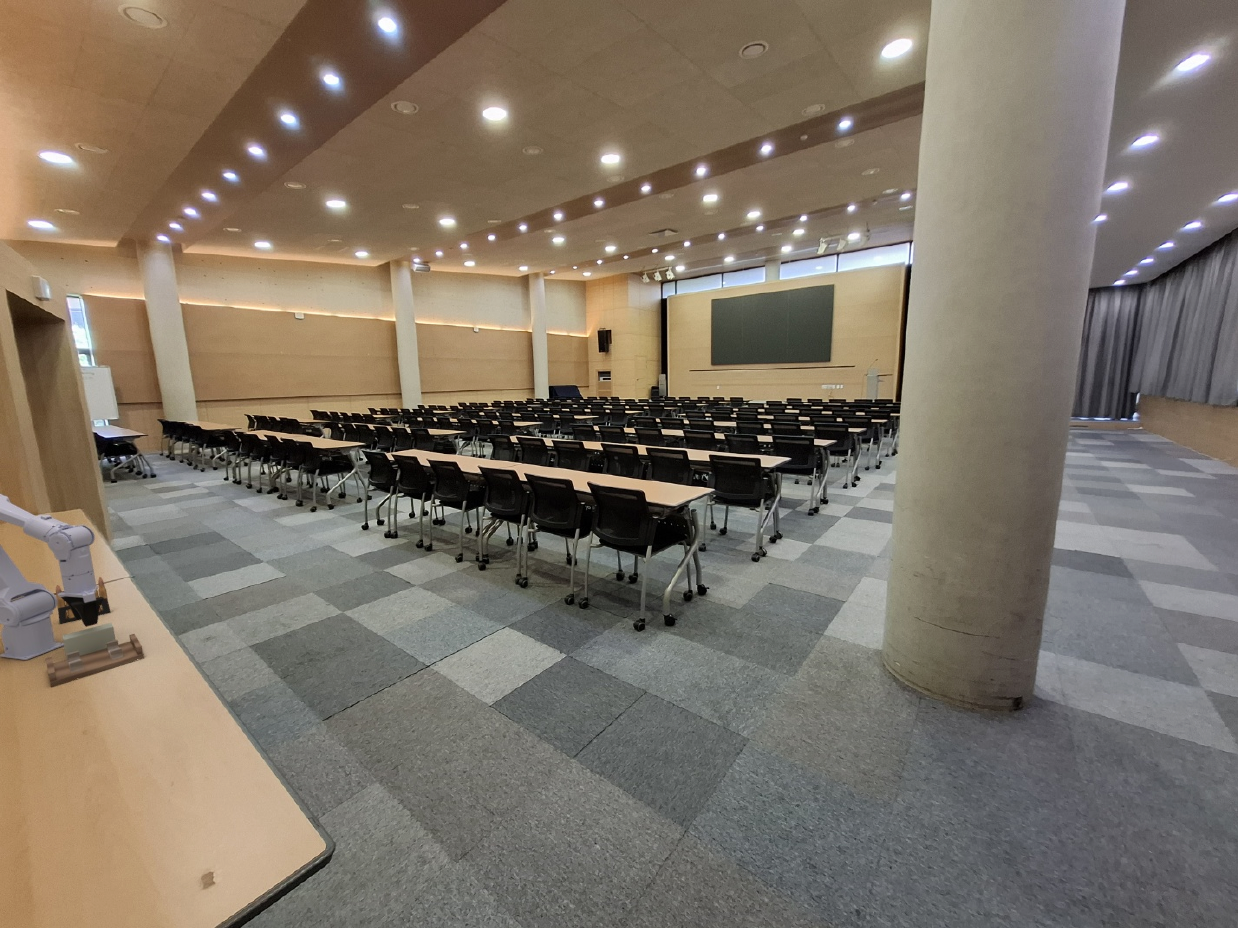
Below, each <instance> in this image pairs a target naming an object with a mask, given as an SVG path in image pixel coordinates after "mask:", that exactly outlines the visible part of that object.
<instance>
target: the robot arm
mask: <svg viewBox="0 0 1238 928" xmlns="http://www.w3.org/2000/svg"><path fill="white" fill-rule="evenodd" d="M0 521H2V522H6V523H8V524H11V525H14V526H17V527H20V528H23V529H22V530H23V533H24V534H25V535H26V536H29V537H32V538H34V539H35V540H36V539H37V540H39V541H41V542H44V543H46V544H47V546H48V549H49V550H51V551H52V552H53V555H54V558H55V559H56V560H57V561H58V564H59V565H58V566H59V571H60V575H61V580H62V586H63V591H62V592H61V593H58V596H59V597H61V598H62V599H63V600H64V601H65V604H66V603H67V604H68V605H69V607H70V609H71V611H72V613H73V615H74V617H75V618H76V620H78V621H80V619H82V620H81V621H82V623H83V625H84V626H85V628H87V627H90V626H94V625H98V621H99V616H98V615H99V609H100V606H101V604H102V602H103V600H104V597H98V598H96V597H95V592H96V590H97V591H98V590H99V585H98V584H97V581H96V576H95V570H94V564H93V559H92V554H91V553H92V552H91V548H90V546H91V545H92V544H94V542H95V539H96V537H95V532H94V531H93V529H92V528H91V527H89V526H87V525H85V524H80V525H71V524H69V523H67V522H64V521H61V520H59V519H56V518H54V517H53V516H52V515H50V514H48V513H47V514H39V515H35V514H33V513H31V512H29V511H27V510H25V509H23V508H21V507H19V506H18V505H15V504H13V503H12V502H11V501H10V497H8V496H7V495H3V494H2V493H0ZM56 608H57V597H56V594H54V592H52V591H50V590H49V589H47V587H46V586H45V585H44V584H42V583H38V582H31V581H28V579H26V577H25V576H24V575H23V573H22V572H21V570H20V569H19V568H18V566H17V565H16V563H14V561H13V560H12V559H11V557H10V556H9V554H8V553H7V552H6V550H5V549H4V548H3V546H2V545H1V544H0V625H2V626H3V627H2V629H1V632H0V635H1V640H2V644H3V650H4V653H1V654H0V657H1V658H9V659H15V660H21V661H22V660H23V661H28V660H31V659H32V658H35V657H37V656H38V657H39V656H40V655H43V654H46V653H48V652H51V651H54V650H56V649H59V648H60V647H64V642H56V639H55V636H54V631H53V625H52V619H51V615H54V610H55V609H56Z"/></svg>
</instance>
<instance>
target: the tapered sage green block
mask: <svg viewBox="0 0 1238 928" xmlns="http://www.w3.org/2000/svg"><path fill="white" fill-rule="evenodd" d="M112 623H113V622H108V623H104V624H101V625H97V626H92V627H89V628H84V629H81V630H78V631H74V632H70V633H65V634H62V635H61V636H62V643H64V646H63V647H64V651H65V656H66V657H65V658H66V660H67V659H68V658H67V654H68V653H71V652H75V651H79V655H80V656H81V655H84V654H88V653H91V652H95V651H98V650H102V649H105V648H107V642H110V641H114V640H116V635H115V630H114V629H115V628H114V625H113V624H112Z"/></svg>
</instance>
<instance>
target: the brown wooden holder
mask: <svg viewBox="0 0 1238 928" xmlns="http://www.w3.org/2000/svg"><path fill="white" fill-rule="evenodd" d="M67 658H68V659H67ZM142 658H143V659H145V656H144V652H143V646H142V644H141V642H140V640H139V638H138V637H137V636H136V634H135V633H131V634H129V641H127V642H124V643H120V644H119V641H118V639H115V640H114V641H110V642H107V648H105V649H102V650H98V651H95V652H91V653H88V654H84V655H81V656H80V655H79V651H75V652H71V653H68V654H67V657H66V659H64V660H61V661H58V662H54V663H53V657H52V656H50V657H46V658H45V663H46V668H47V674H48V679H49V683H50V688H54V687H56V686H59V685H64V684H66V683H69V682H72V680H73V681H76V680H78V679H77V678H79V679H81V678H85V676H86V677H89V676H92V675H95V674H98V673H101V672H105V671H107V670H111V669H114V668H117V667H120V665H121V666H124V665H126V664H130V663H133V662H132V661H134V660H137V659H140V660H143V659H142ZM137 661H138V660H137ZM134 662H135V661H134ZM88 675H89V676H88ZM75 679H76V680H75Z"/></svg>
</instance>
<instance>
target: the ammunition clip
mask: <svg viewBox="0 0 1238 928" xmlns="http://www.w3.org/2000/svg"><path fill="white" fill-rule="evenodd" d="M97 581H98V584H97V586H98V589H97V590H96V592H95V597H96V598H98V597H104V600H103V602H102V604H101V606H100V609H99V615H98V617H99V616H103V615H107V614H111V613H112V612H111V606H110V603H109V599H108V593H107V589H106V586H105V583H104V582H105V581H104V579H103V578H102V577H101V576H99V577H98V580H97ZM61 592H63V591H62V588H61V586H60V585H59V584H57V585H56V587H55V596H56V597H57V607H56V608H57V611H58V622H59V625H64V624H67V623H74V622H78V621H80V620H81V621H82V619H80V620H76V618H75V617H74V615H73V613H72V611H71V609H70V607H69V605H68V604H67V603H66V602H65V601H64V600H63V599H62V598H61V597H59V596H58V593H61Z"/></svg>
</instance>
